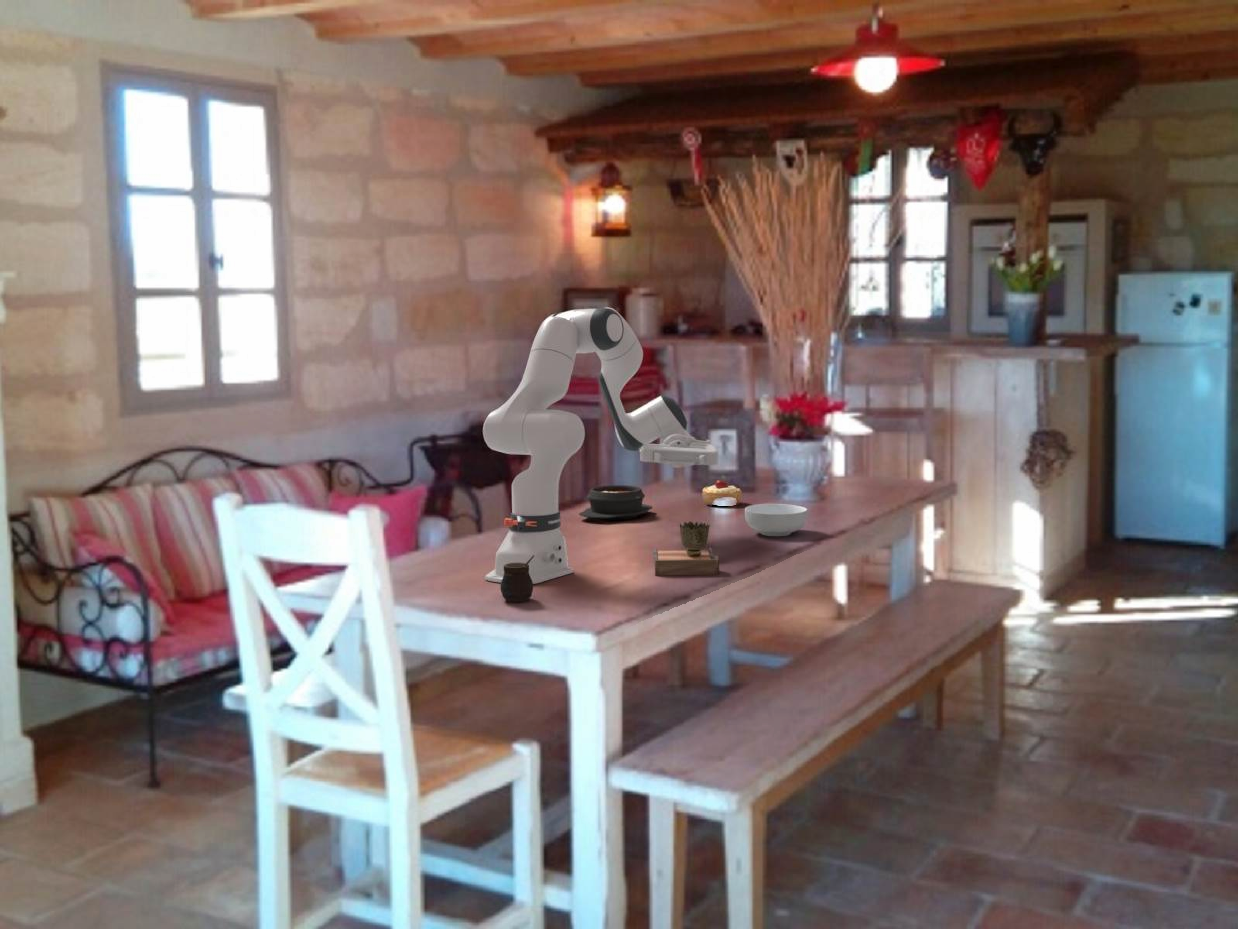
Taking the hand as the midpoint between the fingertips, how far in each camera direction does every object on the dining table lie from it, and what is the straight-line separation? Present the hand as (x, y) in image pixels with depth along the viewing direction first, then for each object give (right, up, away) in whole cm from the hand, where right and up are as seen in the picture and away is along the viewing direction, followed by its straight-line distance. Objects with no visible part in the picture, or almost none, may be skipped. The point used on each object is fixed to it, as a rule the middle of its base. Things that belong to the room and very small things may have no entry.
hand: (680, 460), depth 359 cm
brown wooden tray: (+1, -25, -12) cm, 27 cm away
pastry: (+16, -14, +71) cm, 74 cm away
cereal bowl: (+27, -20, +23) cm, 40 cm away
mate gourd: (-38, -31, -50) cm, 70 cm away
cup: (+3, -24, -6) cm, 25 cm away
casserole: (-16, -17, +53) cm, 58 cm away
